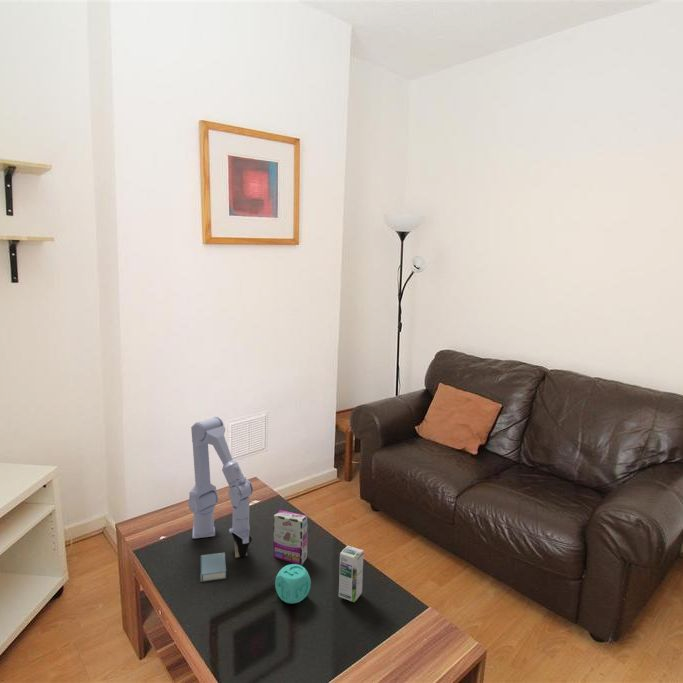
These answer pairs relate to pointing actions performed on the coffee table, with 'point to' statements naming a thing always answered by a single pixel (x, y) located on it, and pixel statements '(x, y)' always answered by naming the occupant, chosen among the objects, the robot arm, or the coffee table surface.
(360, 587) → the syrup box
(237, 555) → the beech block
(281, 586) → the decorative dice
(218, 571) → the book
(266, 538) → the coffee table surface
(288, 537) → the candy bar box
